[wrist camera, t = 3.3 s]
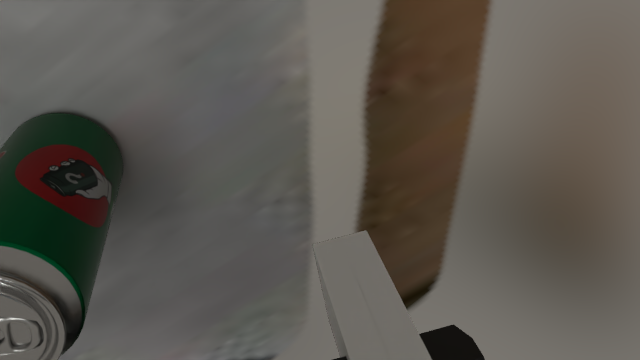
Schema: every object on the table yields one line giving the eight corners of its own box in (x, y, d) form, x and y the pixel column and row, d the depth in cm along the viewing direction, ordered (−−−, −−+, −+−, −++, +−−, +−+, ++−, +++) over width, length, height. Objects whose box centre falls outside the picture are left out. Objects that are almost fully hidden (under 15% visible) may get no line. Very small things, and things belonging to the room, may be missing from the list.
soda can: (1, 105, 24) (-148, 264, 13) (123, 111, 25) (72, 261, 15) (15, 205, 26) (-104, 408, 16) (126, 206, 27) (83, 396, 17)
